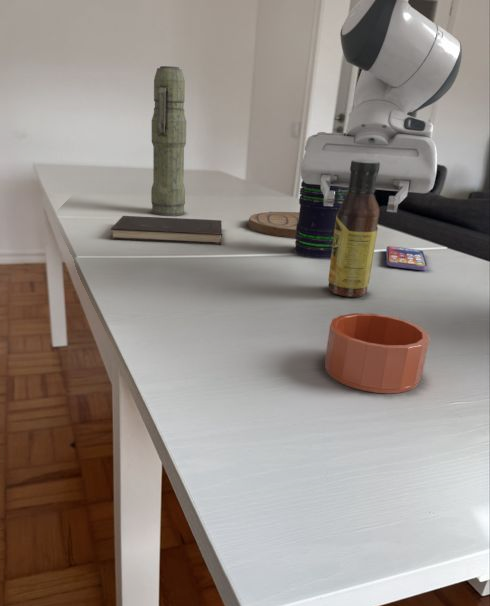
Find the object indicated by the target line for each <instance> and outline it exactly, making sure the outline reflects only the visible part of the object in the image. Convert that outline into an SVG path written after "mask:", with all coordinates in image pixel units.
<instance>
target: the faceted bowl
mask: <svg viewBox="0 0 490 606" xmlns="http://www.w3.org/2000/svg"><path fill="white" fill-rule="evenodd" d="M429 343H430V336H429V332H427V330H425V329H424V328H423V327H421V326H420V325H418V324H415V323H414V322H411V321H409V320H406V319H403V318H400V317H395V316H391V315H386V314H379V313H367V312H366V313H365V312H364V313H362V312H361V313H359V312H356V313H348V314H342V315H341V314H340V315H338V316H336V317H334V318H332V319H331V321H330V324H329V329H328V336H327V343H326V351H325V358H324V369H325V371H326V373H327V374H328V375H329V376H330V377H331V378H332V379H334V380H335V381H337V382H338V383H340V384H343V385H344V386H347V387H350V388H353V389H355V390H360V391H362V392H363V391H364V392H368V393H376V394H400V393H406V392H409V391H411V390H414V389H415V388H417V386H418V385H419V384H420V382H421V380H422V376H423V372H424V366H425V362H426V358H427V353H428V349H429Z"/></svg>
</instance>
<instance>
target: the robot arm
mask: <svg viewBox="0 0 490 606" xmlns="http://www.w3.org/2000/svg"><path fill="white" fill-rule="evenodd" d="M409 1H410V0H359V1H357V3H356V4H355V5H354V6H353V8H352V9H351V10H350V11H349V13H348V15H347V17H346V18H345V21H344V23H343V24H342V26H341V29H340V32H339V33H340V34H339V35H340V45H341V49H342V52H343V56H344V58H345V61H346V62H347V63H348V64H351V65H353V66H355V67H356V68H358V69H360V70H361V72H360V75H359V76H358V80H357V82H356V86H355V89H354V94H353V99H352V105H353V108H352V110H351V111H350V114H349V117H348V121H347V125H346V131H345V132H325V131H318V132H316V134H313V135H310V136H308V137H307V139H306V142H305V145H304V151H305V152H304V154H303V157H302V160H301V163H300V177H301V180H303V181H304V182H305V183H306V184H317V185H321V191H322V193H323V195H324V206H333V205H334V201H335V191H330V190H329V189H330V186H341V187H349V183H350V175H351V171H350V166H351V161H352V160H360V159H361V160H362V159H363V160H374V161H379V162H380V167H379V172H378V174H377V178H376V184H375V190H380V191H390V192H397V193H396V194H395V195H389V196H388V201H387V208H386V212H389V213H397V212H398V207H399V205H400V204H401V203H402V202H403V201H404V200H405V199H406V198H407V197H408V193H417V194H427V193H429V192H431V190H433V188H434V186H435V181H436V177H437V173H438V171H437V170H438V151H437V145H436V143H435V141H433V137H434V124H433V123H431V122H430V121H427V120H424V119H420V118H417V117H415V116H412V115H410V114H411V113H415V112H418V111H420V110H422V109H425V108H426V107H428V106H430V105H432V104H434V103H435V102H437V101H439V100H440V99H441V98H442V97H444V96H445V95H446V94H447V93H448V92H449V90H450V89H451V88H452V87H453V85H454V83H455V81H456V79H457V77H458V75H459V72H460V67H461V63H462V59H463V58H462V57H463V56H462V55H463V49H462V43H461V41H460V40H458V39H457V38H456V37H454V36H453V35H452V34H451V33H450V32H448V31H447V30H445V29H444V28H442V27H441V26H440V25H438V24H437V23H435V22H434V21H431V19H429V18H428V17H426V16H425V15H423V14H422V13H420V12H419V11H418V10H417V9H415V8H414V7H412V6H411V5H410V3H409ZM408 113H410V114H408Z"/></svg>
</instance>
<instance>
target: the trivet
mask: <svg viewBox="0 0 490 606" xmlns="http://www.w3.org/2000/svg"><path fill="white" fill-rule="evenodd" d="M299 213H300V211H299V212H298V211H268V212H267V211H266V212H259V213H254V214H252V215H250V216H249V217H248V227H249V228H250V229H251V230H252V231H255V232H258V233H262V234H264V235H265V234H266V235H271V236H277V237H281V238H282V237H283V238H290V239H295V235H296V232H297V231H296V227H297V224H298V222H299Z"/></svg>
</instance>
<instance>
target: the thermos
mask: <svg viewBox="0 0 490 606" xmlns="http://www.w3.org/2000/svg"><path fill="white" fill-rule="evenodd" d="M185 93H186V80H185V77H184V73H183V69H181V68H180V67H178V66H168V65H164V66H163V65H161V66H159V67H157V68H156V71H155V74H154V79H153V102H154V107H153V114H152V117H151V144H152V146H153V148H152V149H153V150H152V151H153V153H152V154H153V158H152V159H153V160H152V161H153V165H152V167H153V169H152V170H153V175H152V177H153V181H152V185H151V191H150V192H151V194H150V195H151V198H150V199H151V213H152V214H154V215H157V216H167V217H168V216H169V217H170V216H172V217H175V216H182V215H184V214H185V204H186V187H185V183H184V175H185V173H184V171H185V167H184V166H185V165H184V164H185V147H186V144H187V119H186V115H185V109H184V105H185V104H184V103H185Z"/></svg>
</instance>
